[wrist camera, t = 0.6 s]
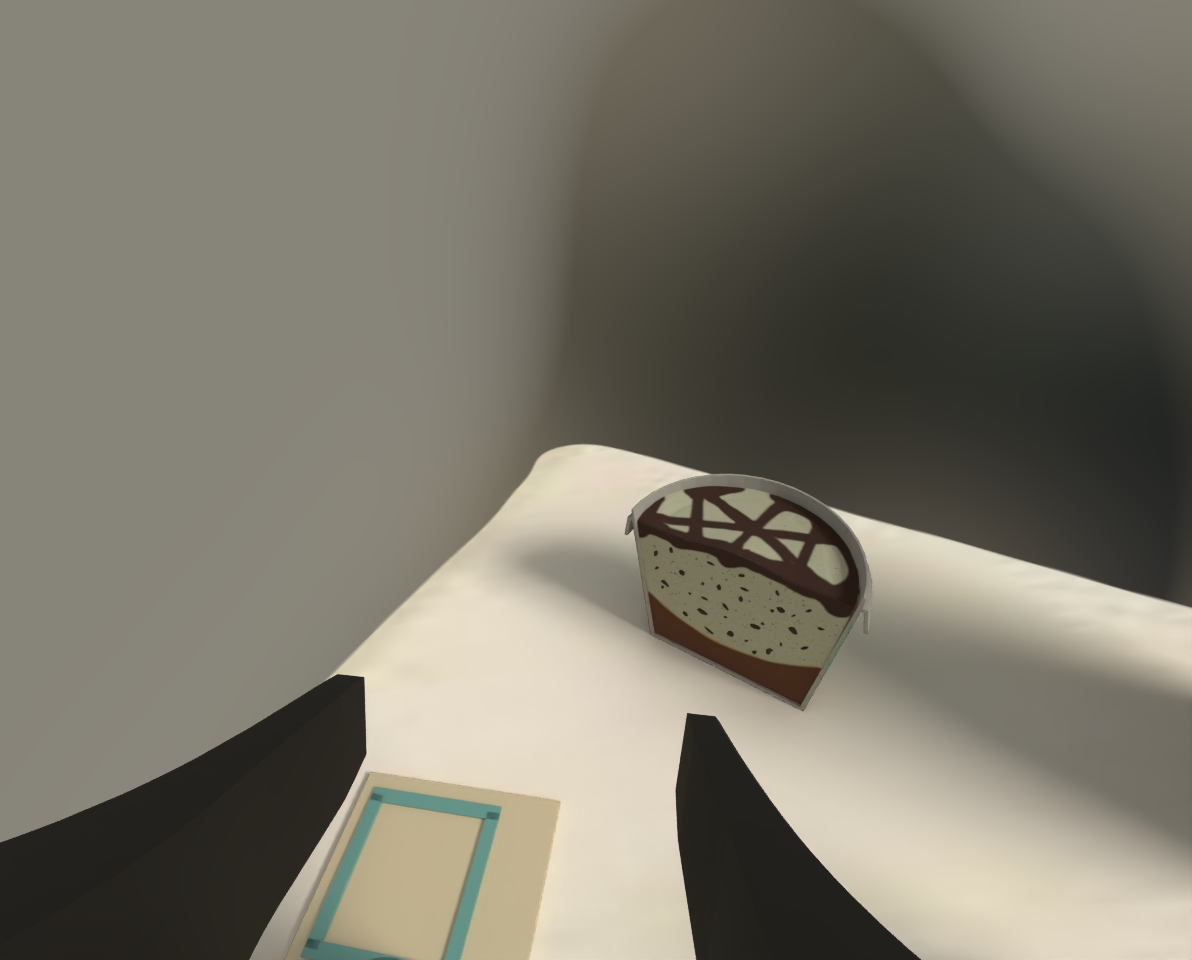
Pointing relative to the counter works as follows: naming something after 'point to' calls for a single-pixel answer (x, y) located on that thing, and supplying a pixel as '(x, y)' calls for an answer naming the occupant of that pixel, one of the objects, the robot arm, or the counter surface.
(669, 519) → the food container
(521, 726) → the counter surface
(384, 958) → the teal rounded cylinder
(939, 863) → the counter surface
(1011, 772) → the counter surface
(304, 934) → the card sheet
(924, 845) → the counter surface
